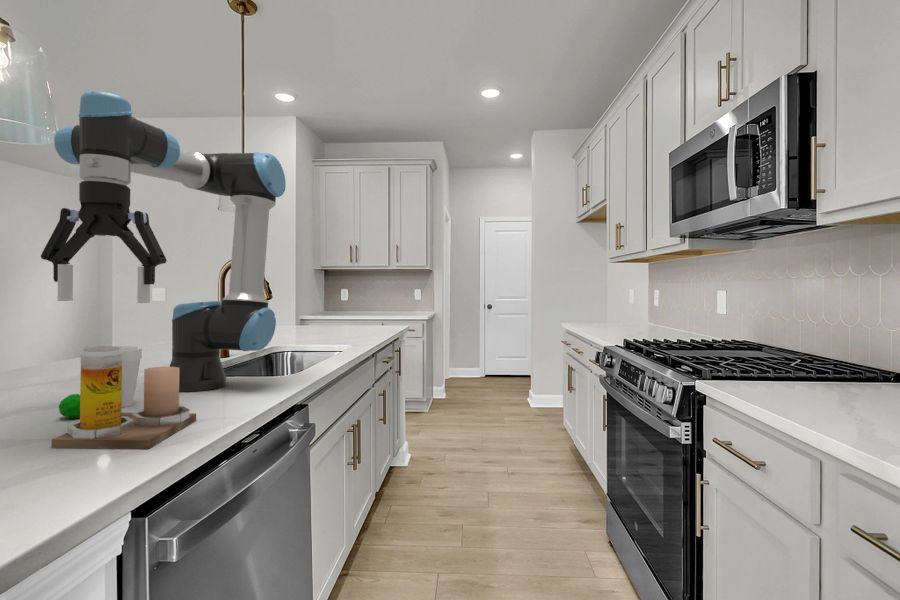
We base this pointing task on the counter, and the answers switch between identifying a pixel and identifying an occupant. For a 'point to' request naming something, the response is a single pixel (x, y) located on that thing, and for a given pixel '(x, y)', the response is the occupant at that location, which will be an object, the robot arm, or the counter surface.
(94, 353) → the beer can
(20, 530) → the counter surface
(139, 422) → the socket collars
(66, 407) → the polyhedron
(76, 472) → the counter surface
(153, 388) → the pin
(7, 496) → the counter surface
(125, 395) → the foam cup
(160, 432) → the pin board
